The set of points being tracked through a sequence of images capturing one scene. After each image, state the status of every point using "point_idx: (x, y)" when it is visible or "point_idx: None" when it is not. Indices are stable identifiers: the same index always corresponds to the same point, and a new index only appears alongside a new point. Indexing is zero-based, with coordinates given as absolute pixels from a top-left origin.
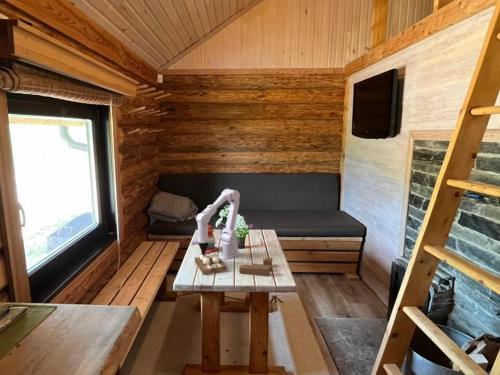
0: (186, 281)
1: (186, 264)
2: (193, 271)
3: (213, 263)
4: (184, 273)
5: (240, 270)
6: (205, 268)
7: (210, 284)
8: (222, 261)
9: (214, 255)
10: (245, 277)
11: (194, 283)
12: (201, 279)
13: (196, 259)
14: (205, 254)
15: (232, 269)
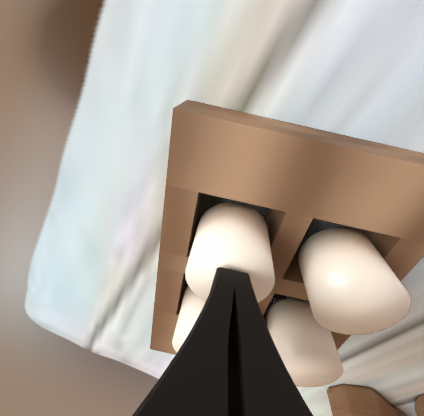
0: (61, 318)
1: (88, 101)
2: (119, 256)
3: (266, 319)
4: (56, 248)
5: (333, 411)
6: (170, 343)
7: (156, 376)
8: (346, 337)
9: (341, 327)
10: (313, 409)
11: (95, 344)
12: (135, 338)
13: (172, 176)
14: (267, 272)
15: (340, 352)
